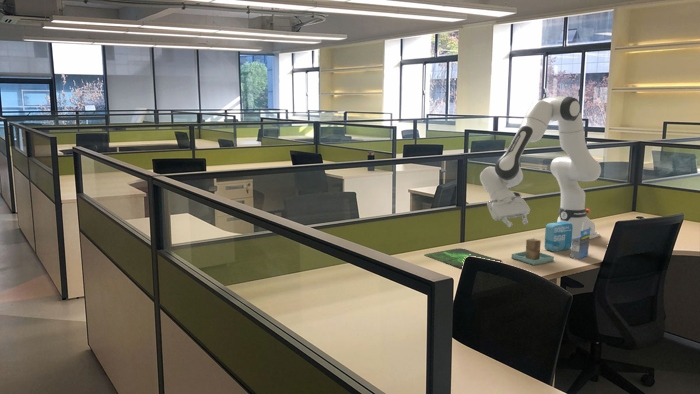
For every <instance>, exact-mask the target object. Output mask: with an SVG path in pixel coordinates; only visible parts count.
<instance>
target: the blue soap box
mask: <svg viewBox="0 0 700 394" xmlns="http://www.w3.org/2000/svg"><path fill="white" fill-rule="evenodd" d="M572 228H573V226H572V224H571V223H567V222H557V221H556V222H550V223H547V224H546V225H545V231H544V232H545V234H544V249H545V250H547V251H550V252H554V253H555V252H560V251H568V250H571V246H572Z"/></svg>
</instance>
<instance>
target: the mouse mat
mask: <svg viewBox="0 0 700 394" xmlns="http://www.w3.org/2000/svg"><path fill="white" fill-rule="evenodd" d="M469 254H471V255H469ZM423 256H424V257H426V258H429V259H432V260H434V261H438V262H441V263H443V264H445V265H449V266H451V267H454V268H459V269H461V270H463V269H462V266H463V262H464V260H465V258H466V257H467V256H476V257H481V258H485V259H490V260H495V261H500V263H502V262H503V261H502V259H499V258H496V257H495V258H494V257H491V256H488V255H485V254H480V253H477V252H473V251H472V250H468V249H466V248H459V247H458V248H452V249H446V250H442V251H436V252H431V253H426V254H425V253H424V254H423ZM464 257H465V258H464ZM463 259H464V260H463ZM462 261H463V262H462Z"/></svg>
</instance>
